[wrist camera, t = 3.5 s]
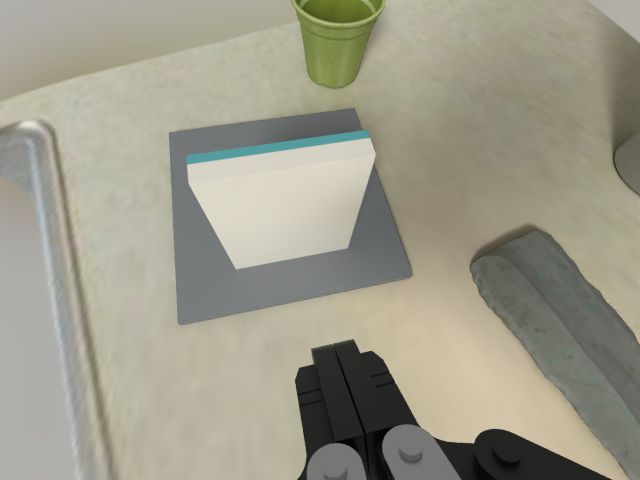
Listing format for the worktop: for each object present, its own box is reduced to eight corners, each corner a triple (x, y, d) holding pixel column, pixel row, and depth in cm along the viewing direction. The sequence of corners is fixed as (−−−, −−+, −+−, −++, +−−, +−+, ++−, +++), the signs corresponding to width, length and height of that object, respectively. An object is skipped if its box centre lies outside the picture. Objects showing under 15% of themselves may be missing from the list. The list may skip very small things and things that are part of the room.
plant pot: (280, 58, 41) (275, -21, 33) (346, 38, 43) (355, -41, 36) (315, 109, 38) (317, 35, 30) (384, 84, 40) (404, 9, 32)
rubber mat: (171, 138, 35) (168, 132, 35) (353, 113, 38) (354, 108, 37) (181, 325, 27) (178, 323, 27) (410, 278, 30) (412, 275, 29)
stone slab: (526, 232, 34) (457, 271, 31) (547, 219, 32) (474, 258, 28) (717, 455, 27) (654, 539, 23) (762, 458, 24) (699, 553, 21)
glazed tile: (233, 250, 29) (186, 155, 18) (342, 230, 31) (367, 129, 19) (235, 269, 29) (188, 183, 17) (347, 248, 30) (375, 154, 18)
